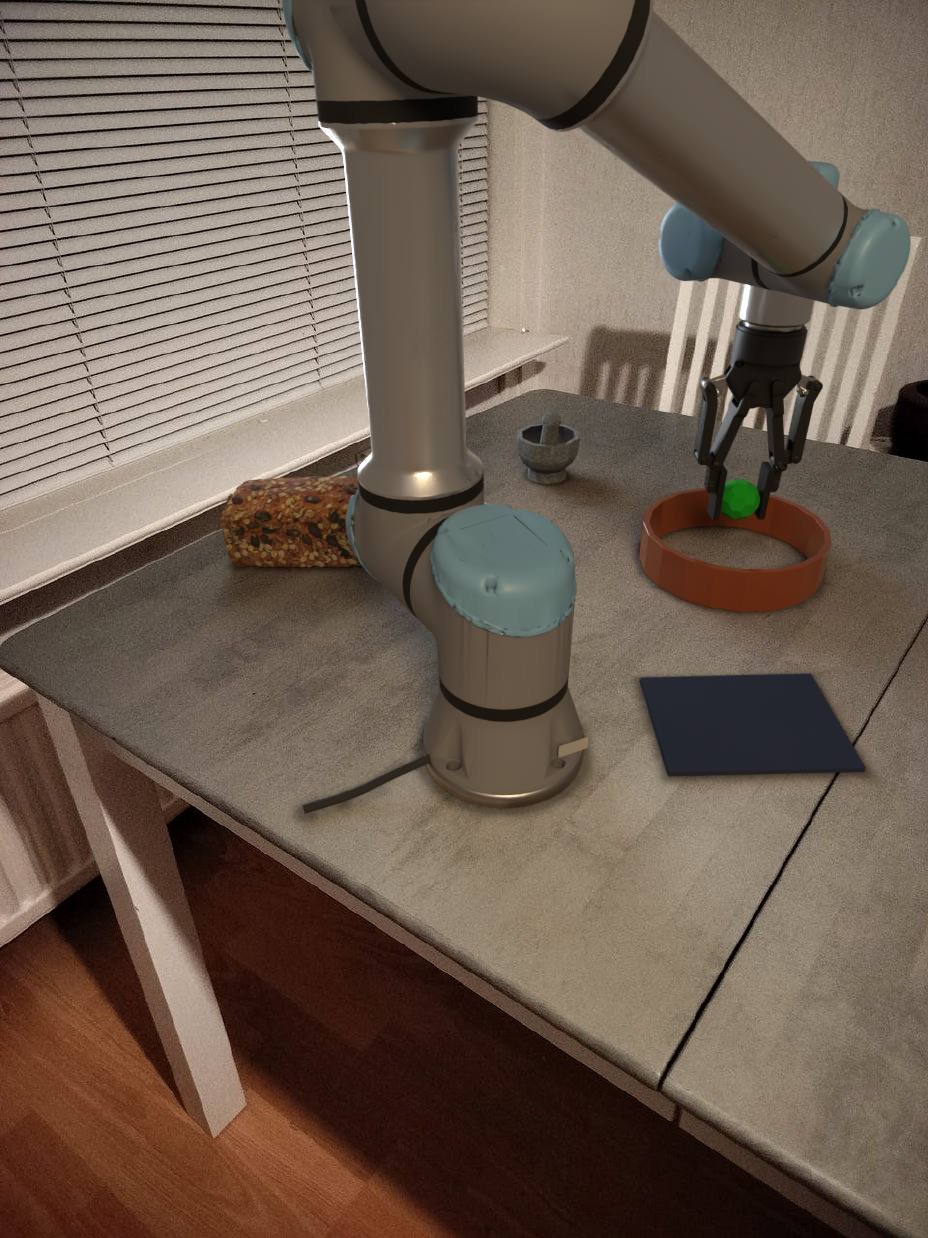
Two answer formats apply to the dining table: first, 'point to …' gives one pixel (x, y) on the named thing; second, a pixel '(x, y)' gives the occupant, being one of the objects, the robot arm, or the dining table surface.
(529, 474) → the mortar and pestle
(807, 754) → the mat
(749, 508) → the polyhedron
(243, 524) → the bread
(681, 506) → the orange bottomless ring
